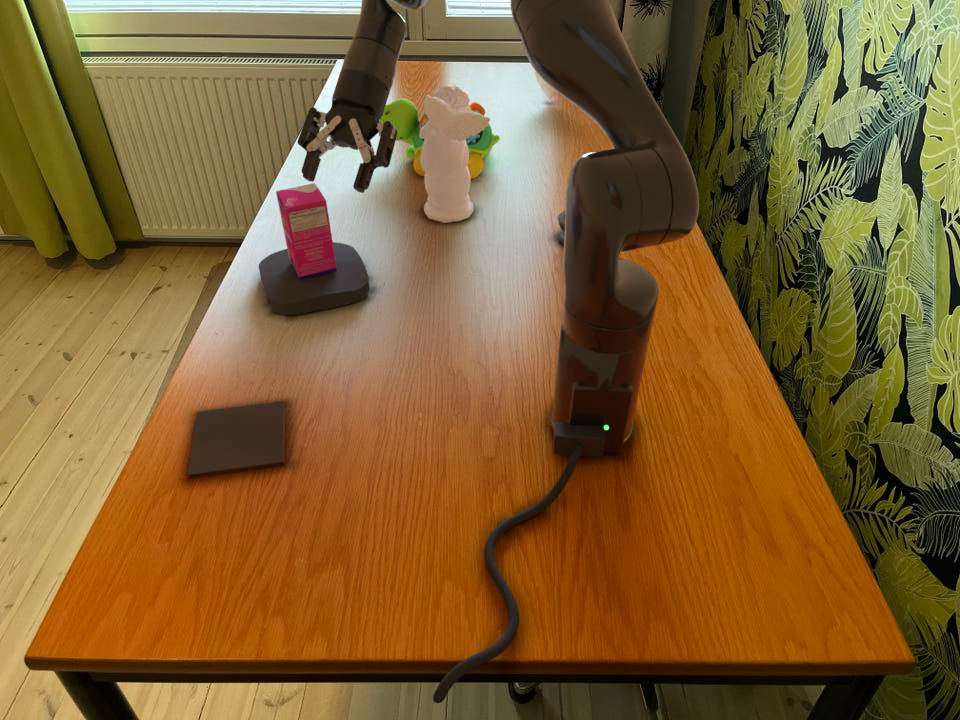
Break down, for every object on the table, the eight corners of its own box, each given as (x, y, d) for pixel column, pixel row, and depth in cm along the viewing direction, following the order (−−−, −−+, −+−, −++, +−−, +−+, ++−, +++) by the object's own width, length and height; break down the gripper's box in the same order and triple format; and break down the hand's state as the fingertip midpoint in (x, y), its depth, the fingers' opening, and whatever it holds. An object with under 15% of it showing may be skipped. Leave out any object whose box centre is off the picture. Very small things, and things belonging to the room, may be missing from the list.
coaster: (284, 465, 78) (283, 461, 78) (188, 478, 76) (187, 475, 76) (285, 404, 86) (284, 400, 85) (198, 415, 84) (196, 411, 84)
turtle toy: (390, 141, 147) (386, 83, 140) (502, 147, 145) (504, 88, 138) (372, 176, 134) (366, 114, 127) (495, 183, 132) (496, 121, 125)
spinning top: (528, 99, 167) (531, 45, 160) (558, 96, 169) (562, 42, 161) (540, 110, 162) (543, 55, 154) (571, 107, 163) (576, 52, 156)
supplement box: (288, 261, 105) (274, 189, 98) (327, 253, 107) (317, 181, 100) (297, 281, 101) (284, 207, 94) (338, 272, 103) (328, 199, 95)
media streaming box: (376, 300, 103) (374, 283, 101) (273, 322, 98) (269, 304, 96) (351, 251, 113) (349, 234, 111) (257, 269, 109) (253, 252, 107)
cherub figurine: (445, 193, 129) (442, 67, 115) (504, 210, 124) (509, 81, 110) (406, 220, 121) (397, 89, 107) (468, 240, 116) (468, 105, 102)
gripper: (311, 60, 103) (277, 166, 102) (399, 74, 99) (364, 184, 98) (335, 86, 110) (304, 185, 109) (418, 100, 106) (386, 203, 105)
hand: (332, 185), depth 103 cm, fingers open, 8 cm apart
